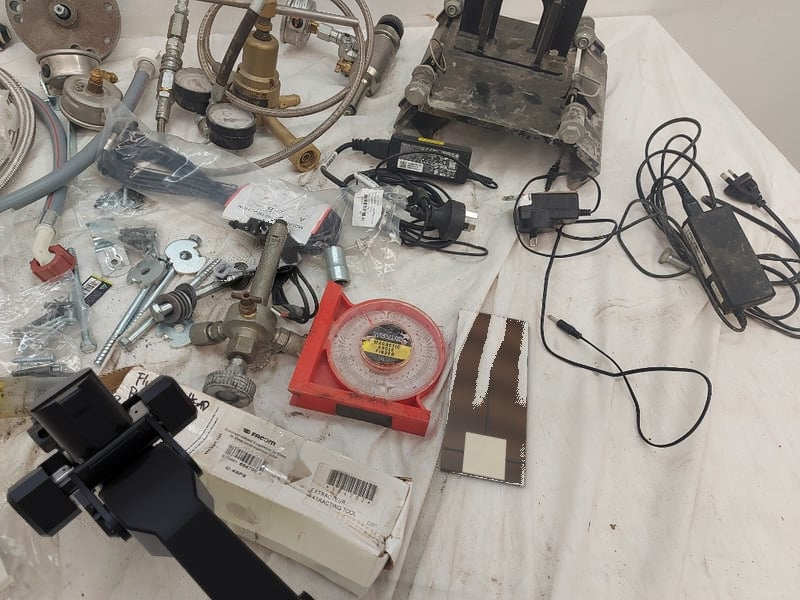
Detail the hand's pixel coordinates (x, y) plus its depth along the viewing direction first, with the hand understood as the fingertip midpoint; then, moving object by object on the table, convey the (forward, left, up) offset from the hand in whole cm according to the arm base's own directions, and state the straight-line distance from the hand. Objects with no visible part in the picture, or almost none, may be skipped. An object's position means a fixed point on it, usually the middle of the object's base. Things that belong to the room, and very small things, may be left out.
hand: (95, 436), depth 68 cm
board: (+7, -53, -11) cm, 54 cm away
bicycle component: (+36, -18, -11) cm, 42 cm away
